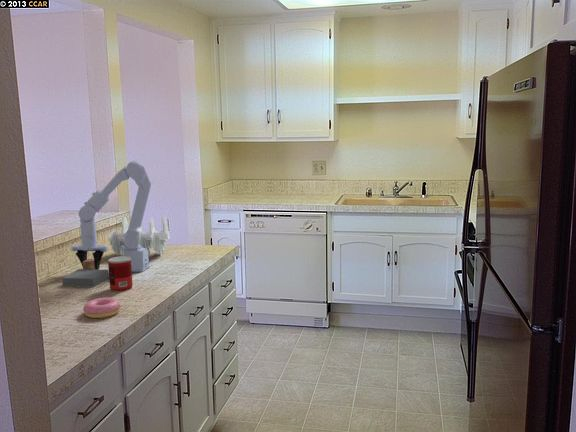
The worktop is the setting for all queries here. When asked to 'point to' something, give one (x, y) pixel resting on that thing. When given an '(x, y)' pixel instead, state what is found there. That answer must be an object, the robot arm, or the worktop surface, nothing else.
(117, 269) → the canned food
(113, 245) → the white irregular piece
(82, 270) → the charcoal stand
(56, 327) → the worktop surface
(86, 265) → the terracotta block
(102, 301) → the doughnut
